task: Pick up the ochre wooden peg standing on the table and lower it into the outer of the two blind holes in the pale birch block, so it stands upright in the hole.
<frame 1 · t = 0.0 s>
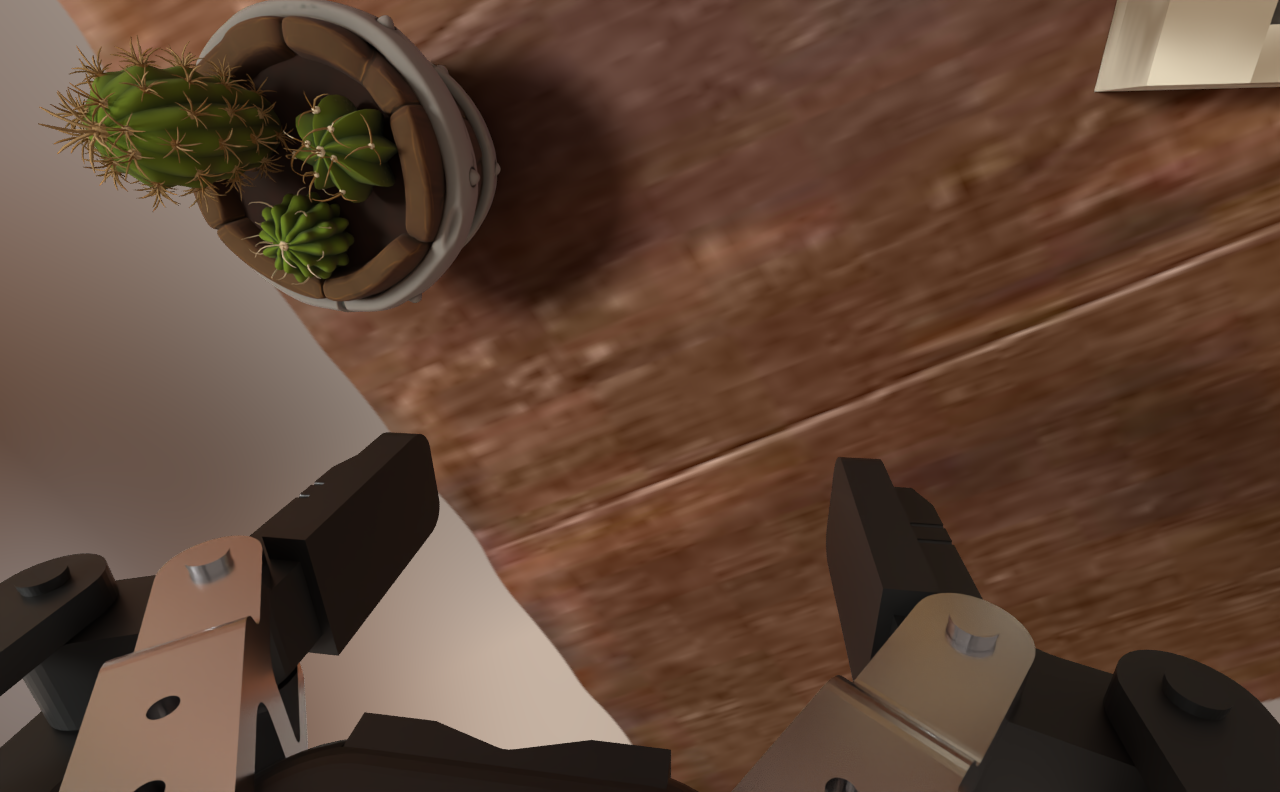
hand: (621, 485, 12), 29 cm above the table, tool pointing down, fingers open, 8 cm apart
flowerpot: (421, 160, 39), on the table
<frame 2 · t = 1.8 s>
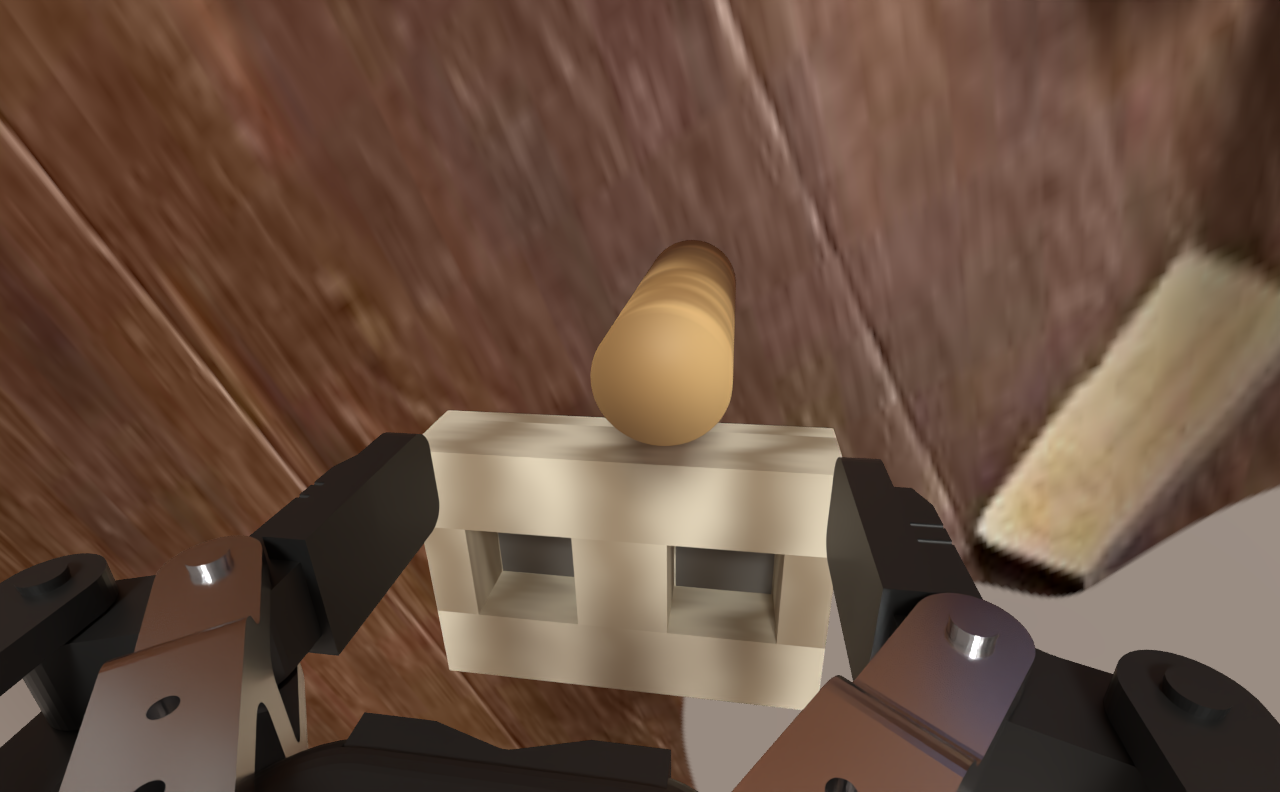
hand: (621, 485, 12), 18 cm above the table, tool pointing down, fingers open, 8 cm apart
peg: (691, 284, 28), on the table
hole block: (634, 531, 34), on the table
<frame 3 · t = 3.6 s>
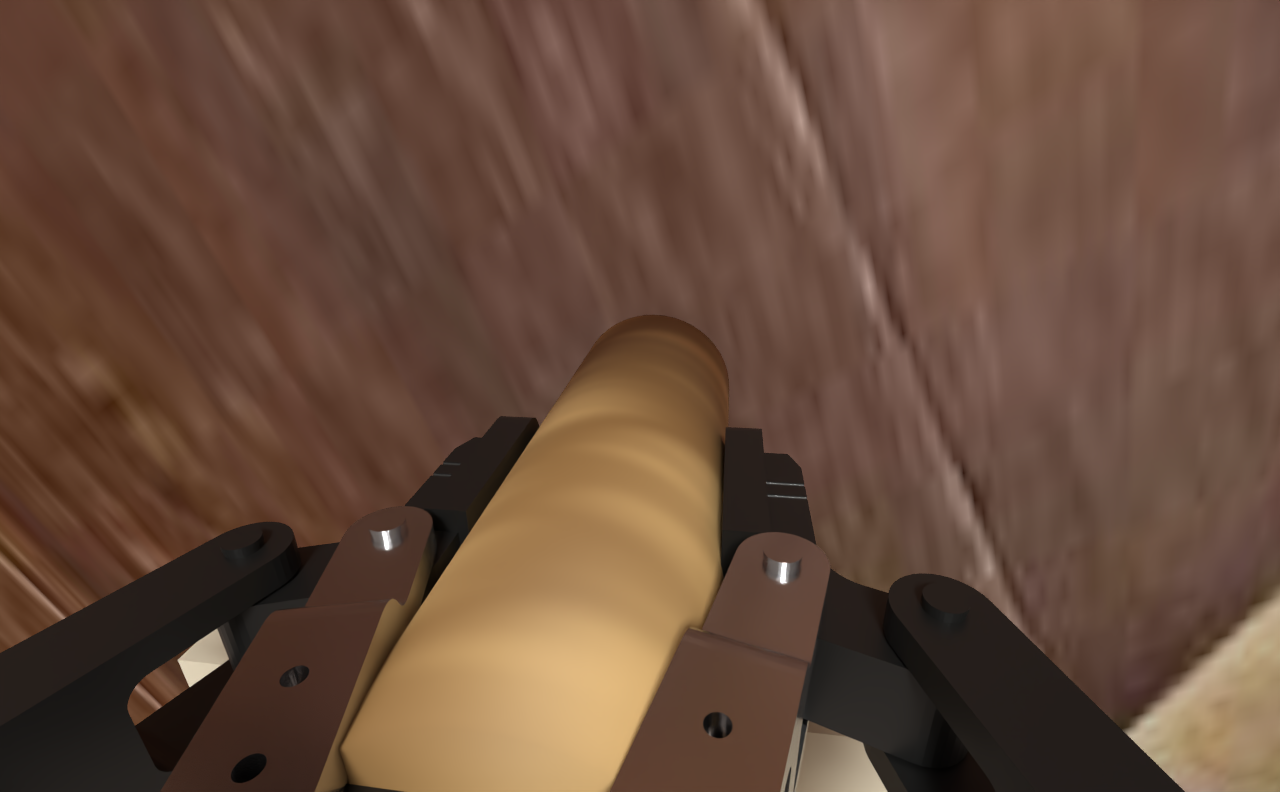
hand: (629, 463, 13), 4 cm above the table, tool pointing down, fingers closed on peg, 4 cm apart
peg: (654, 386, 16), on the table, touching gripper
hole block: (577, 731, 22), on the table
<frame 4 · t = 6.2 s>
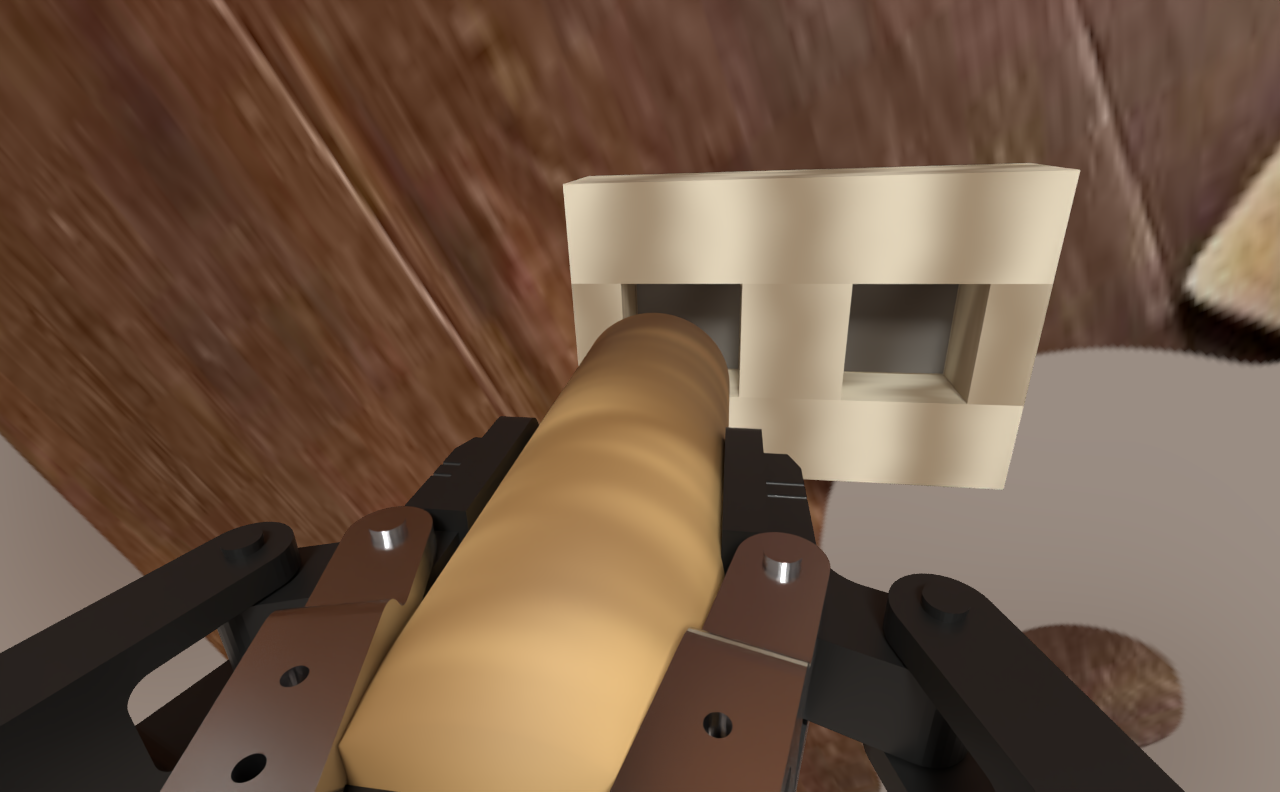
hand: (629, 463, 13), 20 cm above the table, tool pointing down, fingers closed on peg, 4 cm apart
peg: (655, 384, 16), point 16 cm above the table, touching gripper
hole block: (787, 315, 31), on the table
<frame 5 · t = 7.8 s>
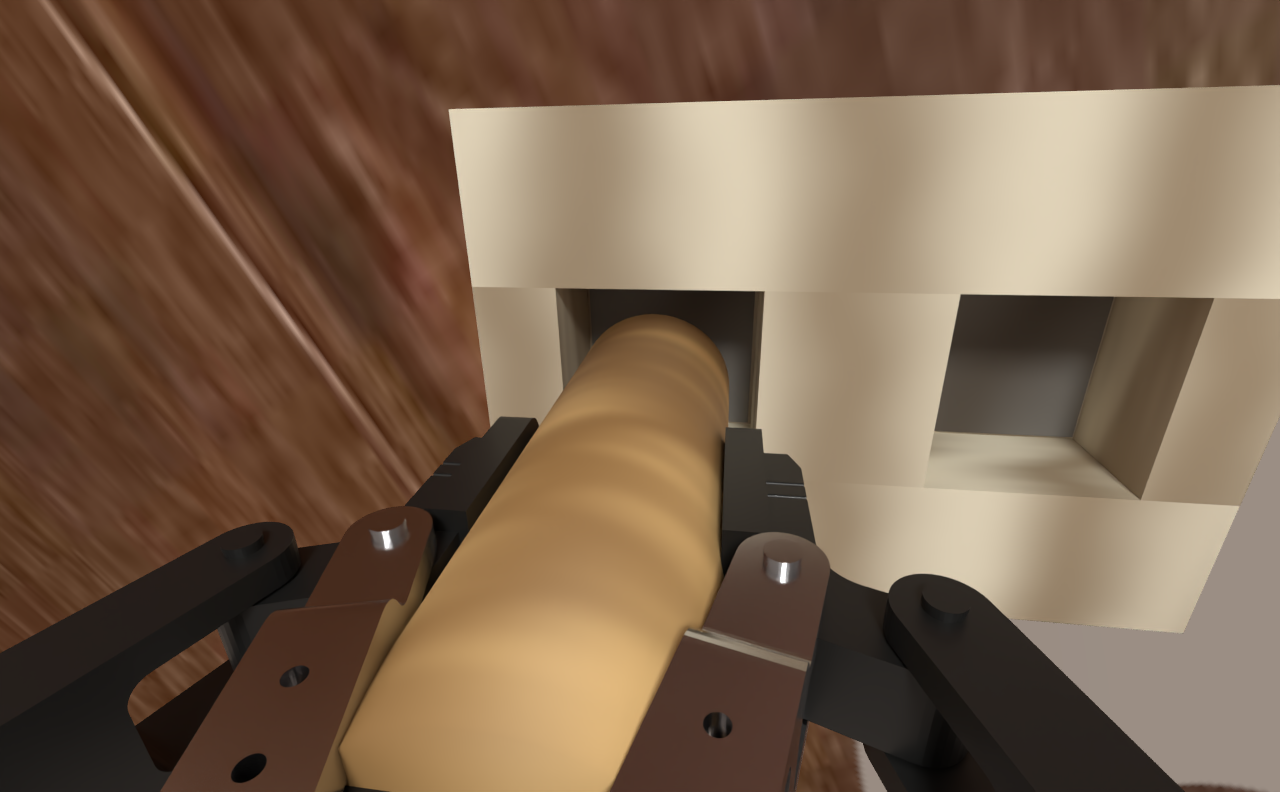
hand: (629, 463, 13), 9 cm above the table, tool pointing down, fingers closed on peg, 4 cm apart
peg: (655, 385, 16), point 5 cm above the table, touching gripper
hole block: (825, 340, 20), on the table
when the fingers open (6 cm above the table, at t = 9.1 s): peg stays where it is, resting on hole block.
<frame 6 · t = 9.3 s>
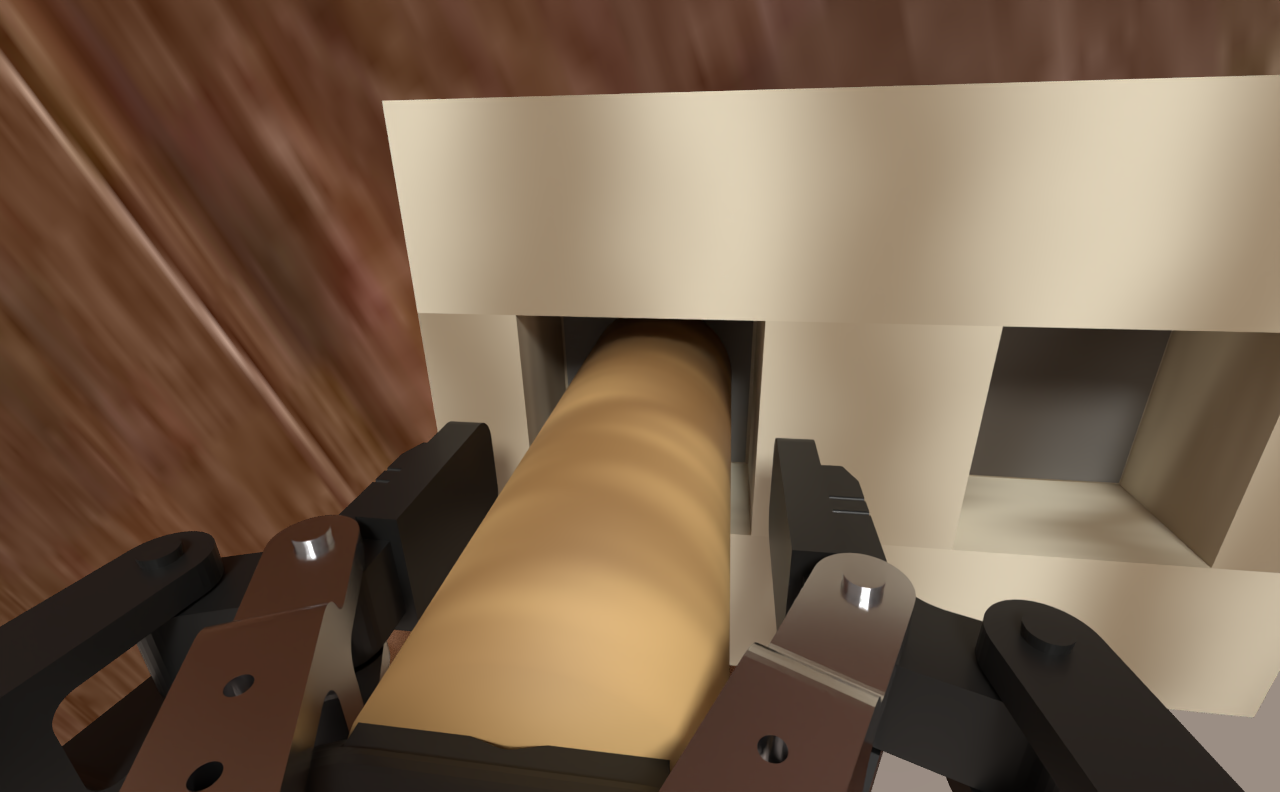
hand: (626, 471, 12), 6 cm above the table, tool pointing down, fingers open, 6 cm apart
peg: (659, 375, 17), point 1 cm above the table, touching hole block
hole block: (833, 369, 17), on the table
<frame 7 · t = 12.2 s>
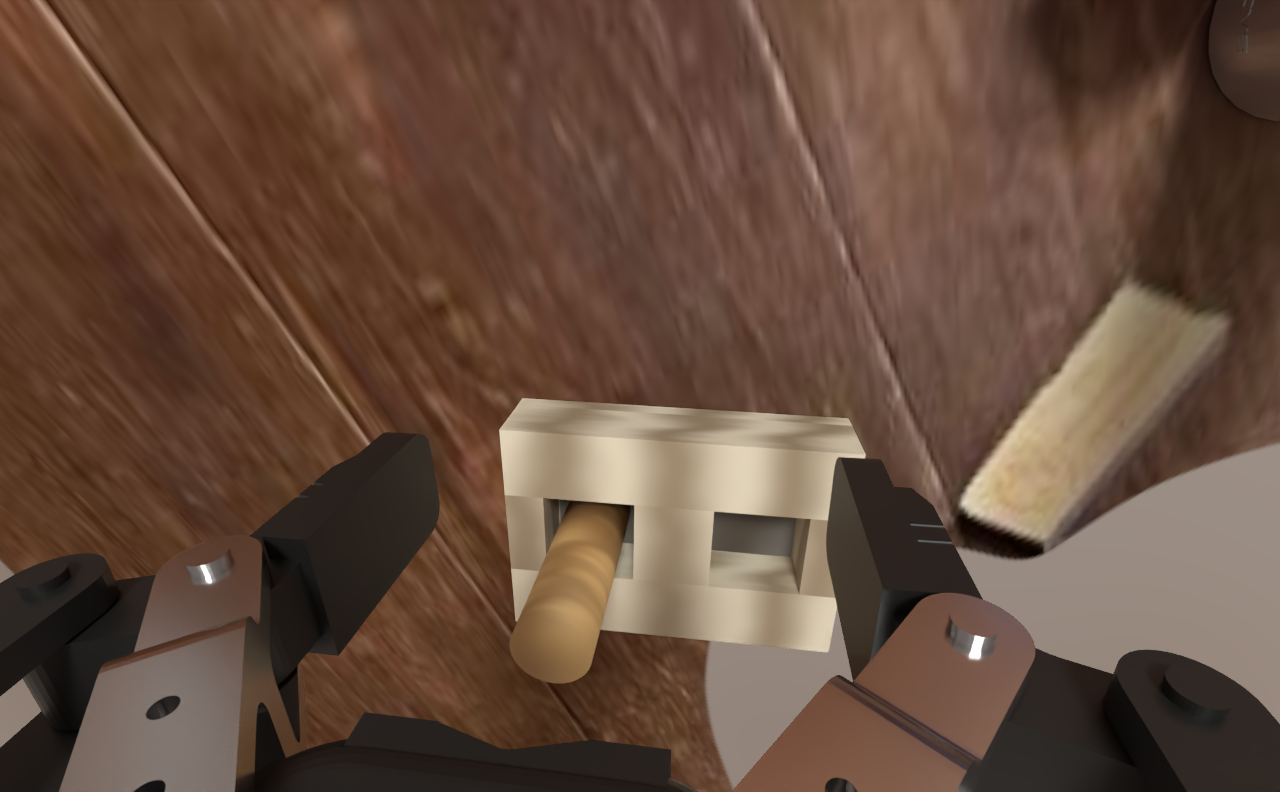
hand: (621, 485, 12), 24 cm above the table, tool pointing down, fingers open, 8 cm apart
peg: (600, 507, 39), point 1 cm above the table, touching hole block
hole block: (676, 504, 40), on the table
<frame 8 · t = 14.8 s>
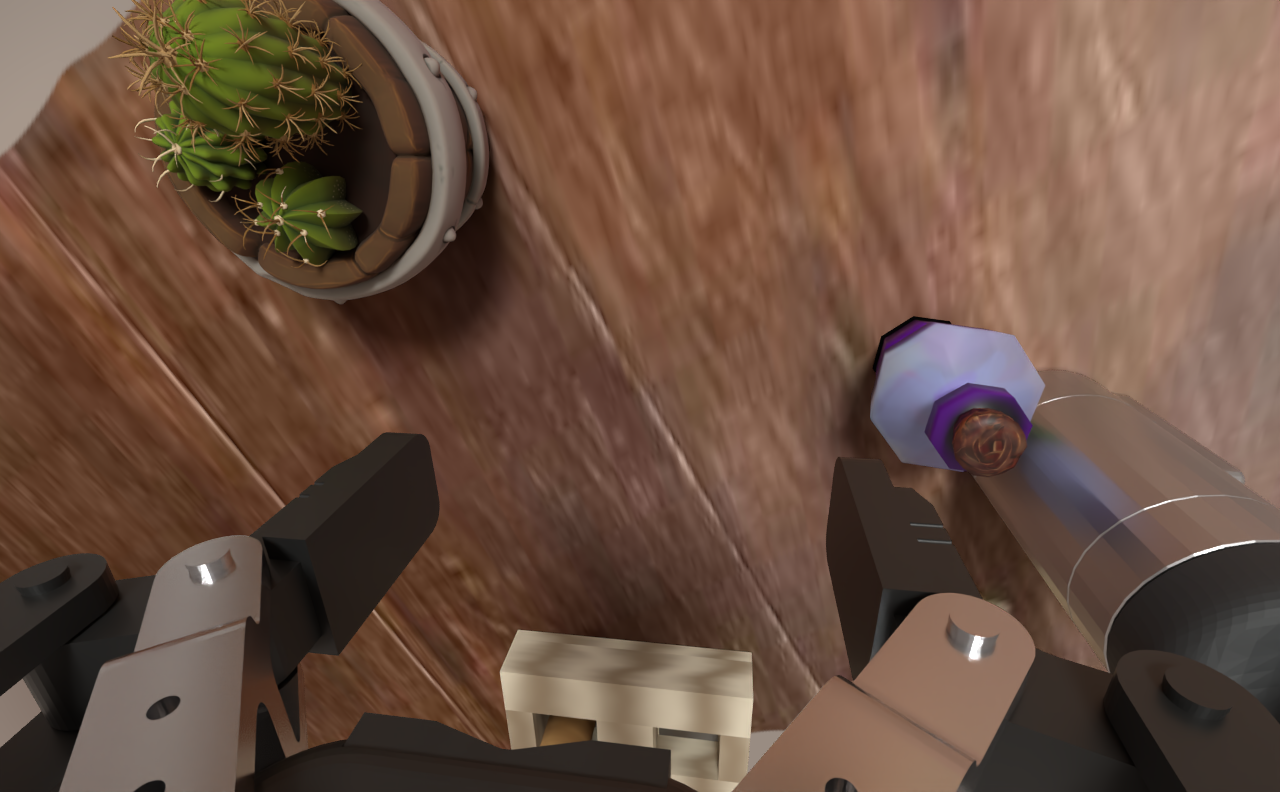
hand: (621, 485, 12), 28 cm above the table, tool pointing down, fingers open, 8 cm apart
flowerpot: (411, 144, 38), on the table
peg: (576, 704, 54), point 1 cm above the table, touching hole block
potion bottle: (918, 357, 38), on the table
hole block: (633, 700, 54), on the table
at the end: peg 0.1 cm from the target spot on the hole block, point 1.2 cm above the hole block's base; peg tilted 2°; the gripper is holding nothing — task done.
